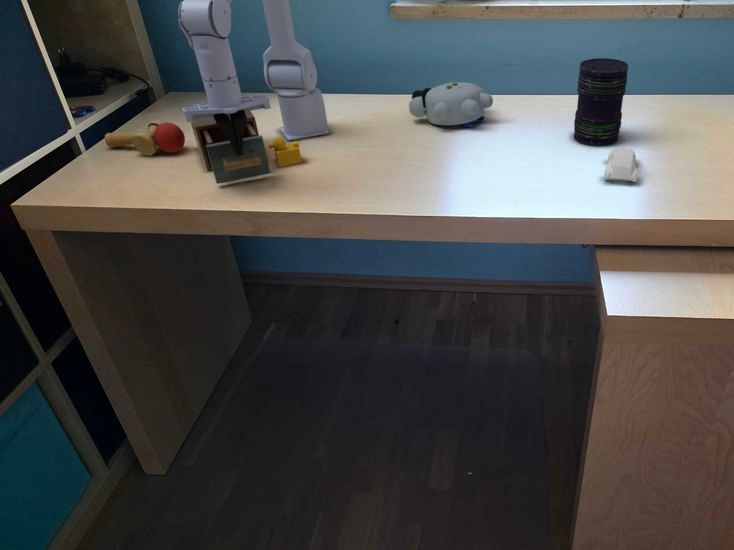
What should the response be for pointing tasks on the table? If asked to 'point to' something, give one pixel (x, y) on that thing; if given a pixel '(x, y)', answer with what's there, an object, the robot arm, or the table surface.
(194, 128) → the cabinet
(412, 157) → the table surface
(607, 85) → the storage jar
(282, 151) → the duck
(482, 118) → the figurine
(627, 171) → the white toy car
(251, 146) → the drawer
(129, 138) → the kendama
